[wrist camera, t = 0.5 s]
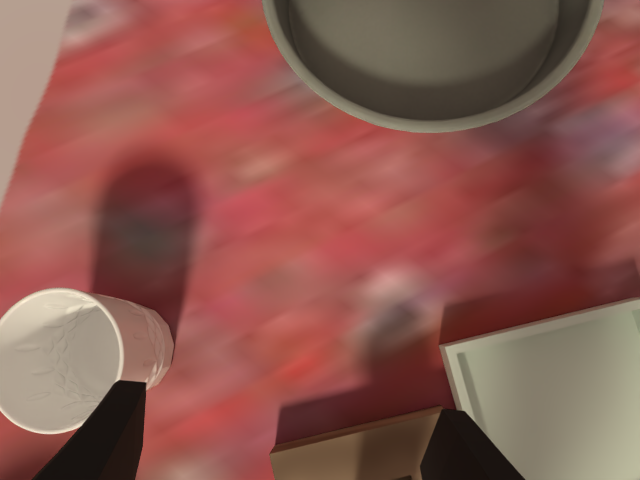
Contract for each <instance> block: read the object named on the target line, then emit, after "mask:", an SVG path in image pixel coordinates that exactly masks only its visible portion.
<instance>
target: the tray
mask: <svg viewBox="0 0 640 480" xmlns="http://www.w3.org/2000/svg"><path fill="white" fill-rule="evenodd" d="M439 348H440V352H441V356H442V359H443V363H444V366H445V370H446V374H447V377H448V381H449V384H450V388H451V392H452V395H453V399H454V403H455V406H456V410H461V411H465V412H466V413H467V414H468V415H469V416H470V417H471V418H472V419H473V420H474V422H475V423H476V424H477V425H478V426H479V427H480V428H481V430H482V431H483V432H484V433H485V434H486V435H487V437H488V438H489V439H490V440H491V441H492V442H493V443H494V445H495V446H496V447H497V448H498V449H499V450H500V452H501V453H502V454H503V455H504V456H505V457H506V458H507V460H508V461H509V462H510V463H511V464H512V465H513V466H514V467H515V469H516V470H517V471H518V472H519V473H520V474H521V475H522V476H523V477H524V478H525V480H640V297H635V298H629V299H625V300H620V301H616V302H612V303H608V304H604V305H600V306H596V307H592V308H588V309H584V310H580V311H576V312H572V313H568V314H563V315H559V316H555V317H551V318H547V319H543V320H539V321H535V322H531V323H527V324H523V325H519V326H515V327H511V328H506V329H502V330H498V331H494V332H490V333H486V334H482V335H478V336H474V337H470V338H466V339H462V340H458V341H453V342H449V343H445V344H441V345H439Z"/></svg>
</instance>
